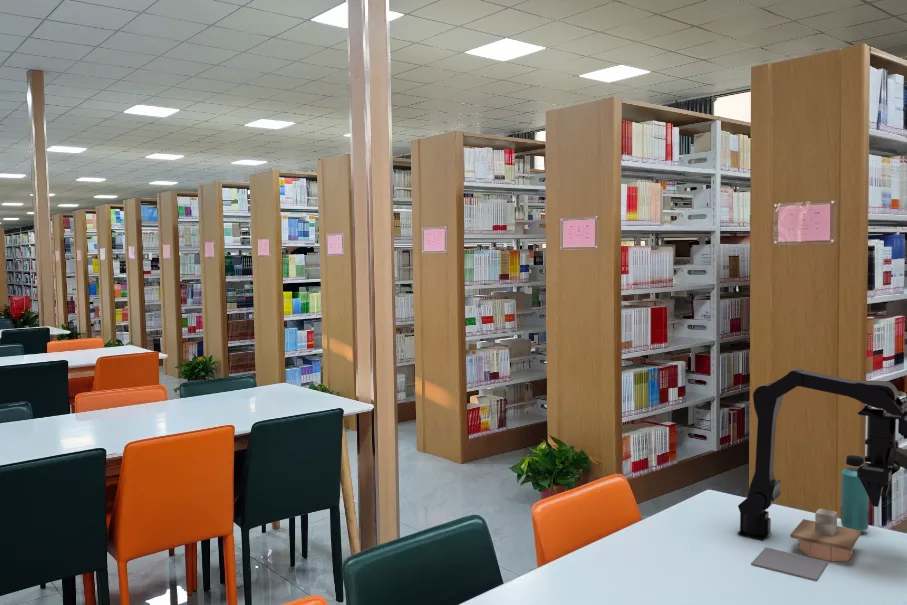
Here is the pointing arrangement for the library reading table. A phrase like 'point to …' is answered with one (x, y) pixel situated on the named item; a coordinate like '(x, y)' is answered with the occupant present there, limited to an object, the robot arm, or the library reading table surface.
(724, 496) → the library reading table surface
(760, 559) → the mat
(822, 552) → the bowl
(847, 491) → the beverage bottle
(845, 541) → the lid
